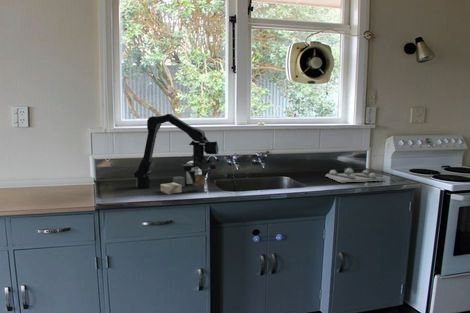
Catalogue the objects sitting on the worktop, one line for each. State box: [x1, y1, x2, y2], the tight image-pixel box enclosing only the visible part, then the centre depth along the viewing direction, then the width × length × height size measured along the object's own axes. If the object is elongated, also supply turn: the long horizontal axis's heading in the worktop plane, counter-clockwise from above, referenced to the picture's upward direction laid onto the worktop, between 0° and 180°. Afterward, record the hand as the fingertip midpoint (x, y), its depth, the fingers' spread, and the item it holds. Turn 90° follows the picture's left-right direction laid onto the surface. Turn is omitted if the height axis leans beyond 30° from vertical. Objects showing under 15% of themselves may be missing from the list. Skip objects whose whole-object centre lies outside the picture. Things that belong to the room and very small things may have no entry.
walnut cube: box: [191, 174, 206, 187], centre depth 215 cm, size 5×5×5 cm
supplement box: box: [186, 160, 202, 185], centre depth 233 cm, size 7×7×13 cm
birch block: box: [160, 182, 183, 195], centre depth 212 cm, size 8×8×4 cm
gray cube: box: [172, 175, 186, 188], centre depth 226 cm, size 5×5×5 cm
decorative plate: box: [324, 167, 386, 184], centre depth 251 cm, size 30×22×7 cm
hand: (198, 182), depth 215 cm, fingers closed on walnut cube, 5 cm apart
